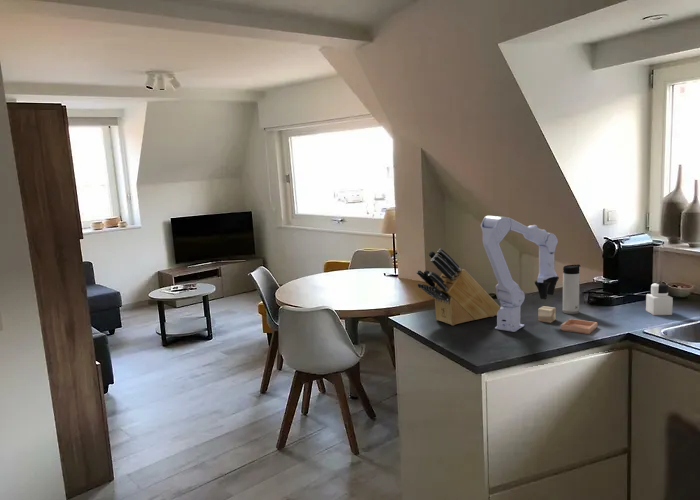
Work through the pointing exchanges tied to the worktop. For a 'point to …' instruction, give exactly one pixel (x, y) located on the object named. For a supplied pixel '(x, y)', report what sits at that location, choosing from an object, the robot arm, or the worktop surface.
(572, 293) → the travel mug
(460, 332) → the worktop surface
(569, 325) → the terracotta tray
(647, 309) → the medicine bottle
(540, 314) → the beech block
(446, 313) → the knife block
